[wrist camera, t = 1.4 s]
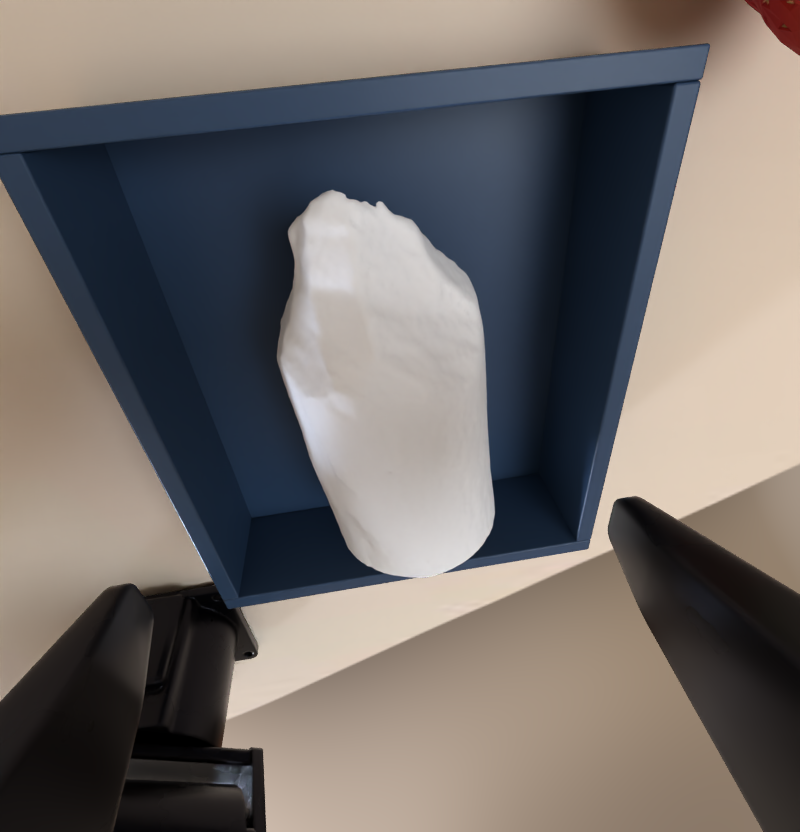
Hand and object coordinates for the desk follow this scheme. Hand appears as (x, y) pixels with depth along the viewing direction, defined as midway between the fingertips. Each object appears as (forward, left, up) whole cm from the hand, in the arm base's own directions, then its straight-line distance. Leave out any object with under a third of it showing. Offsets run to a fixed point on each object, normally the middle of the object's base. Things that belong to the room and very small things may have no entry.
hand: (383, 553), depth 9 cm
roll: (-1, -1, -10) cm, 10 cm away
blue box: (-1, -1, -10) cm, 10 cm away
